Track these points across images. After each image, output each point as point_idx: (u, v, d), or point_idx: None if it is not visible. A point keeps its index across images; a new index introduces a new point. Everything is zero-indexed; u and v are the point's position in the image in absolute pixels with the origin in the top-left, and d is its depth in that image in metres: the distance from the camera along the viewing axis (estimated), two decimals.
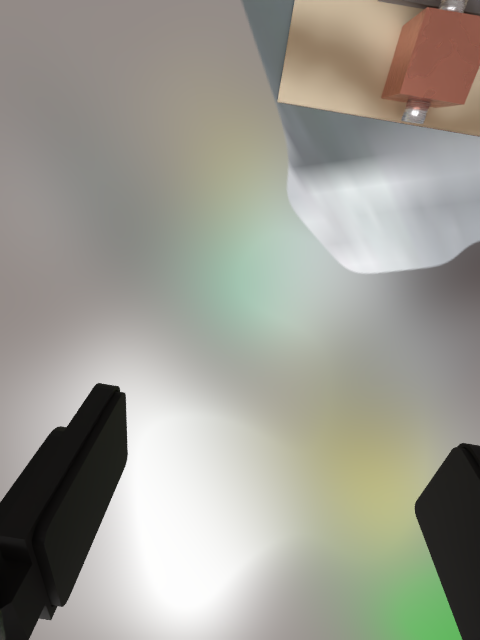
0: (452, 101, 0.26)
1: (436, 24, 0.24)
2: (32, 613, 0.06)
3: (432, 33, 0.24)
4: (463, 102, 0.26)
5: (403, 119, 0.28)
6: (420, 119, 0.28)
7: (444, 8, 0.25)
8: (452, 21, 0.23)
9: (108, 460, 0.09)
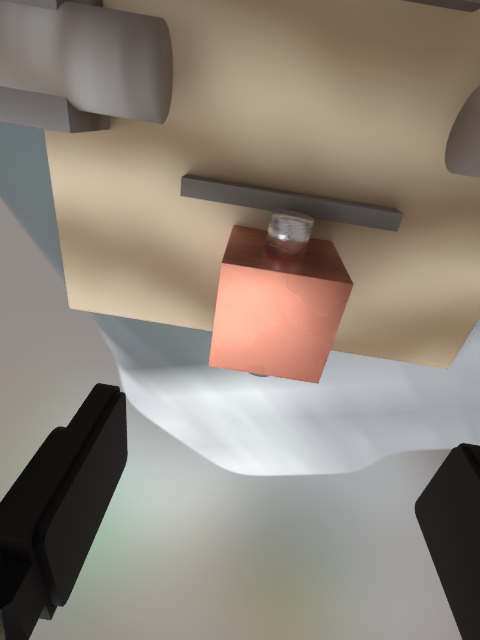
0: (298, 378, 0.15)
1: (244, 285, 0.13)
2: (32, 613, 0.06)
3: (241, 297, 0.13)
4: (318, 378, 0.15)
5: None
6: None
7: (271, 238, 0.14)
8: (271, 283, 0.13)
9: (108, 460, 0.09)
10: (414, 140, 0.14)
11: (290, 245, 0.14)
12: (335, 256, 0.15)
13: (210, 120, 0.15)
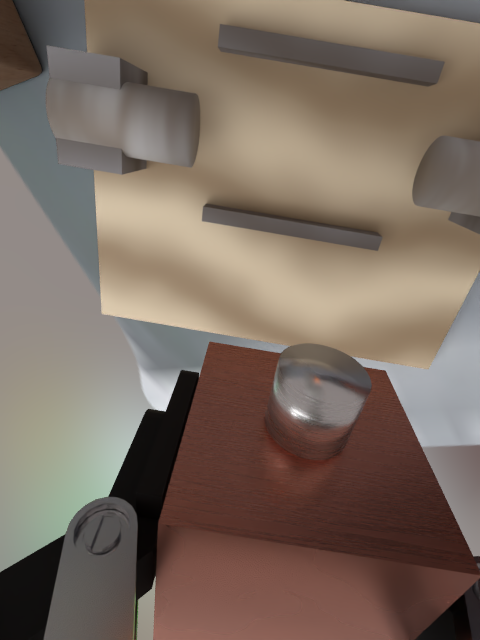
0: None
1: (215, 559, 0.06)
2: (155, 565, 0.07)
3: (210, 574, 0.06)
4: None
5: None
6: None
7: (279, 420, 0.06)
8: (280, 561, 0.05)
9: None
10: (389, 179, 0.18)
11: (320, 440, 0.06)
12: (405, 432, 0.08)
13: (226, 162, 0.18)
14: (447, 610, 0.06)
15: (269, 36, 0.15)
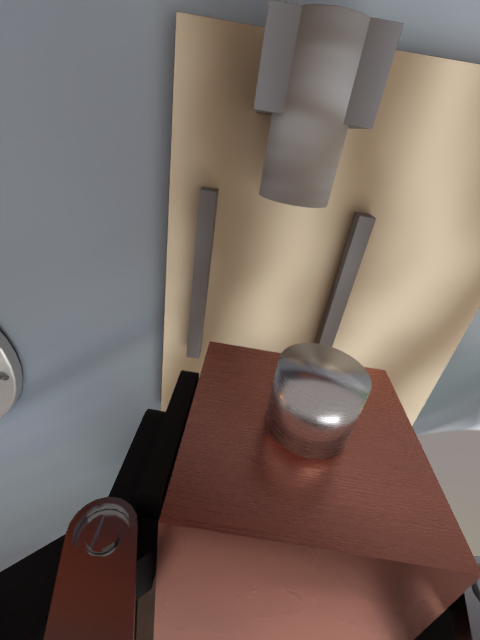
0: None
1: (215, 558, 0.06)
2: (155, 565, 0.07)
3: (210, 573, 0.06)
4: None
5: None
6: None
7: (280, 419, 0.06)
8: (281, 560, 0.05)
9: None
10: (298, 209, 0.17)
11: (320, 439, 0.06)
12: (405, 431, 0.08)
13: (275, 349, 0.22)
14: (447, 610, 0.06)
15: (191, 326, 0.20)
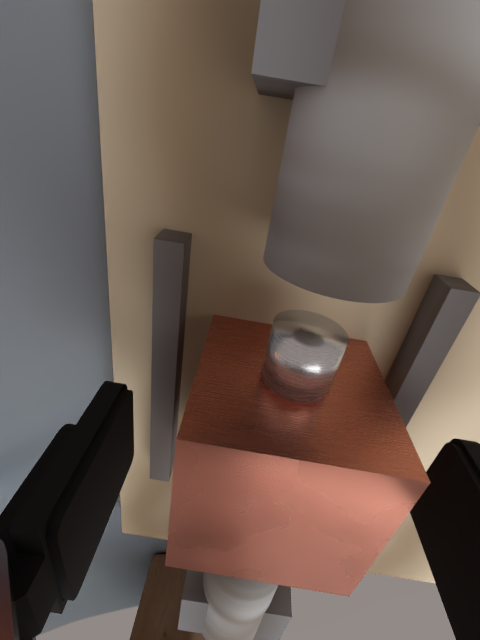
0: (315, 588, 0.09)
1: (220, 472, 0.07)
2: (44, 606, 0.06)
3: (216, 487, 0.07)
4: (349, 585, 0.09)
5: None
6: None
7: (273, 369, 0.08)
8: (273, 473, 0.07)
9: (116, 457, 0.09)
10: None
11: (306, 384, 0.08)
12: (380, 386, 0.09)
13: None
14: None
15: (154, 441, 0.13)
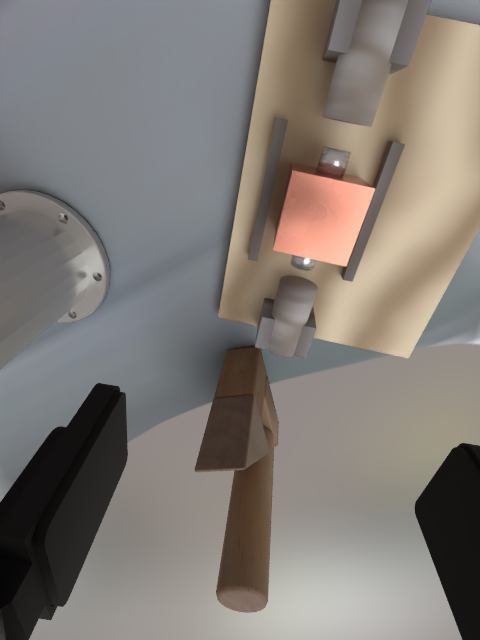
0: (332, 262, 0.22)
1: (304, 187, 0.20)
2: (32, 613, 0.06)
3: (302, 196, 0.21)
4: (346, 263, 0.23)
5: (291, 263, 0.25)
6: (307, 268, 0.25)
7: (322, 162, 0.21)
8: (323, 186, 0.20)
9: (108, 460, 0.09)
10: (346, 138, 0.23)
11: (334, 166, 0.21)
12: (363, 181, 0.22)
13: None
14: None
15: (254, 232, 0.26)
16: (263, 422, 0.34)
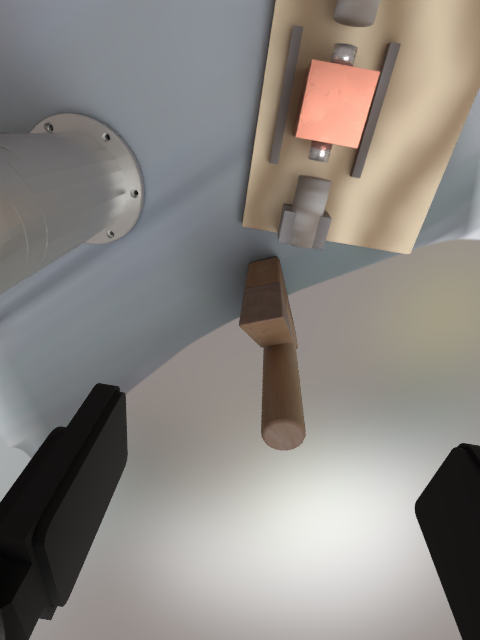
0: (346, 145, 0.27)
1: (322, 74, 0.25)
2: (32, 613, 0.06)
3: (320, 83, 0.25)
4: (357, 146, 0.27)
5: (308, 158, 0.30)
6: (323, 159, 0.29)
7: (334, 58, 0.26)
8: (337, 72, 0.25)
9: (108, 460, 0.09)
10: (351, 44, 0.28)
11: (345, 60, 0.26)
12: None
13: (328, 161, 0.32)
14: None
15: (275, 136, 0.30)
16: None
